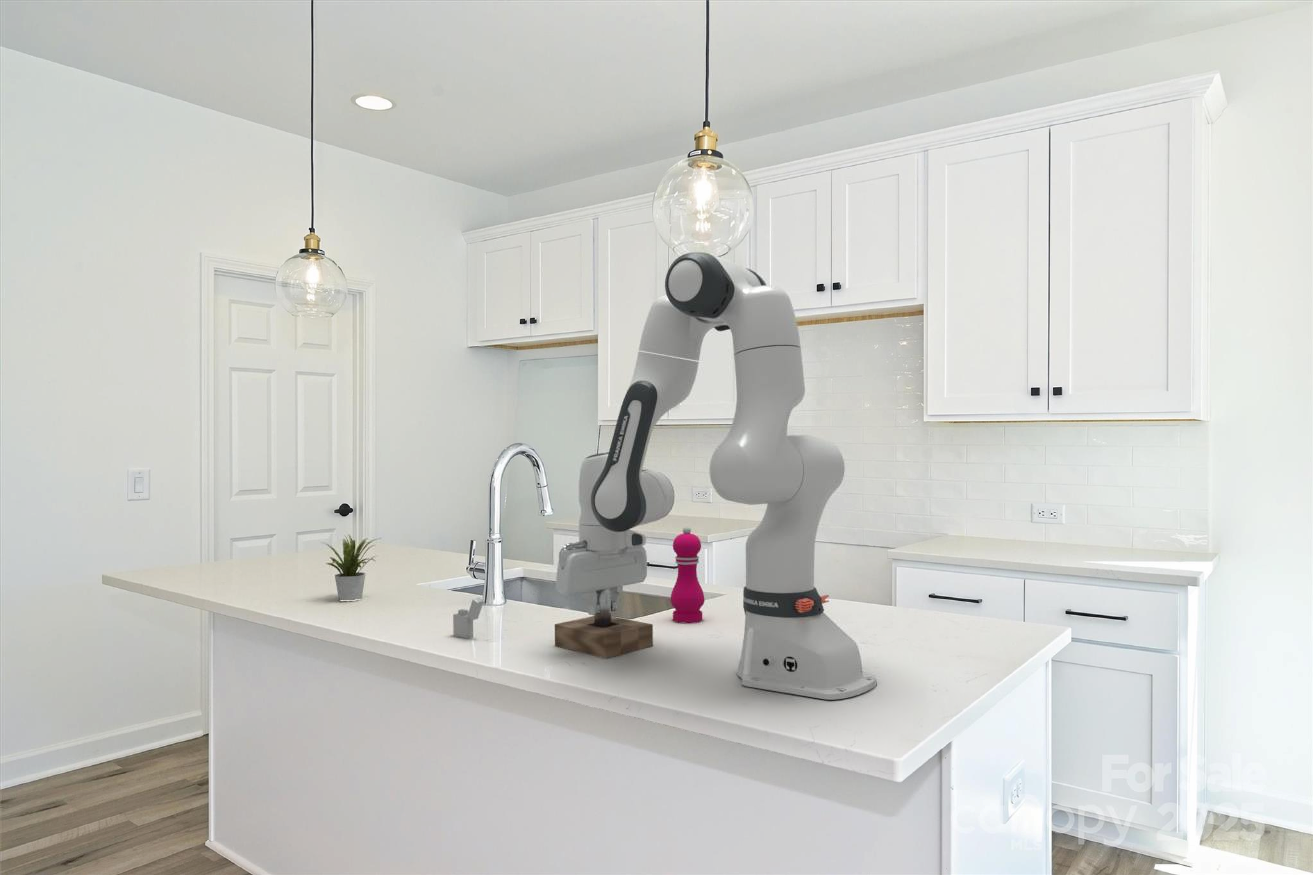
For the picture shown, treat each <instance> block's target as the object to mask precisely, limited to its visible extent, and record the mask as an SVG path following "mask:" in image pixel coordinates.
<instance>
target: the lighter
mask: <svg viewBox="0 0 1313 875" xmlns="http://www.w3.org/2000/svg"><path fill="white" fill-rule="evenodd" d="M483 605H484V600H483V599H482V598H481V597H474V598H473V599H472V601H471V604H470V607H469V609H464V608H461V609H458V610H457V613H453V615H452V620H453V621H452V622H453V625H452V626H453V630H452V632H453V635H452V636H453V637H456V638H461V639H471V638H474V621H475V620H478V619H479V616H480V614H481V611H482V608H483Z"/></svg>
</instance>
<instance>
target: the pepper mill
mask: <svg viewBox="0 0 1313 875" xmlns="http://www.w3.org/2000/svg"><path fill="white" fill-rule="evenodd" d="M691 532H692V528H691V526H689V525H685V526H683V528H682V533H680V534H678V535H676V537H674V540H673V542H672V549H673V551H674V553H675V554H676V556H675V564H677V577H676V581H675V583H674V586H673V588H672V589H671V590H672V591H671V594H670V604H671V605H672V607H673V608H674V609H675V610H673V612H672V620H673V621H674V620H675V621H677V622H676V623H679V622H685V623H684V624H693V623H692V622H696V623H700V622H702V621H703V611H702V610H700V609H701V608H702V607H703V605H704V604H705V600H706V599H705V595H704V590H703V589H702V586H701V584H700V582H699V579H698V575H697V574H698V573H697V569H698V568H697V566H698V564H699V561H700V560H699V558H700V557H699V556H698V554H699V553H700V552H701V550H702V549H701V548H702V542H701V540H700V538H699V537H698V536H697V535H696V534H694V533H691ZM675 621H674V622H675Z"/></svg>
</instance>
